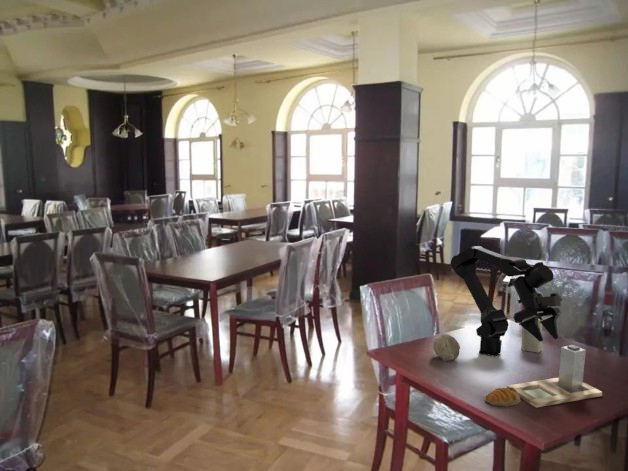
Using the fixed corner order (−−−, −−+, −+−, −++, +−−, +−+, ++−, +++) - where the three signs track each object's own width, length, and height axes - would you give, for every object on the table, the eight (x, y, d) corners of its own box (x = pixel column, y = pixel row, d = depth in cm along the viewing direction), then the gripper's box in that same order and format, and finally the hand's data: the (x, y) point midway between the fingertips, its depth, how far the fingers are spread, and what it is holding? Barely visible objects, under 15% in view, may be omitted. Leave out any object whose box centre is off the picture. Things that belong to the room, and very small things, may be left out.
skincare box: (541, 349, 187) (543, 317, 185) (539, 353, 183) (541, 320, 182) (522, 346, 190) (524, 314, 189) (520, 349, 187) (522, 317, 185)
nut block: (557, 388, 156) (561, 345, 154) (568, 385, 158) (572, 342, 155) (571, 394, 151) (575, 350, 149) (581, 391, 153) (585, 348, 151)
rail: (535, 407, 143) (536, 403, 143) (506, 389, 154) (507, 385, 154) (602, 395, 151) (602, 391, 151) (569, 379, 162) (570, 375, 162)
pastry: (495, 410, 142) (496, 397, 141) (479, 399, 148) (480, 387, 148) (522, 404, 145) (523, 391, 145) (505, 394, 151) (506, 382, 151)
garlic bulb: (457, 368, 175) (467, 345, 171) (434, 365, 174) (444, 342, 170) (448, 350, 184) (458, 328, 180) (426, 347, 182) (435, 325, 178)
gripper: (533, 283, 156) (556, 332, 150) (563, 283, 167) (586, 328, 161) (503, 298, 163) (524, 345, 157) (534, 297, 175) (555, 341, 168)
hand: (549, 340), depth 161 cm, fingers open, 9 cm apart
